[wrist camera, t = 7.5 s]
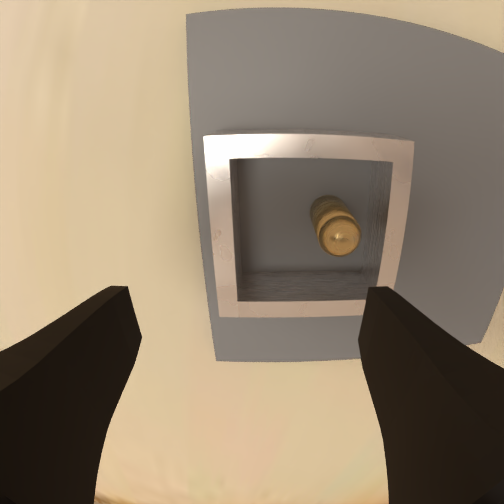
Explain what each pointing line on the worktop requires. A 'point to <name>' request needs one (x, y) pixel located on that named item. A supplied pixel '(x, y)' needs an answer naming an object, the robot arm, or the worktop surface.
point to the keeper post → (334, 226)
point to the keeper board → (352, 162)
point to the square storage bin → (309, 282)
